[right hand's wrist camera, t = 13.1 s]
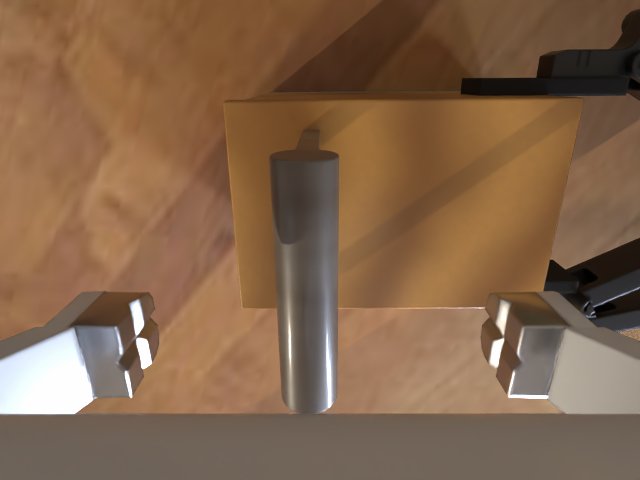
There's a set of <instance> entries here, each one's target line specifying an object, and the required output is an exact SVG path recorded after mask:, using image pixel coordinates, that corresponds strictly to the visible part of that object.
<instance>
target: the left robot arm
mask: <svg viewBox="0 0 640 480" xmlns="http://www.w3.org/2000/svg"><path fill="white" fill-rule="evenodd" d="M622 32H623V33H622V35H621V37H620V39H619V40H618V41H617V43H616V44H615V45H614V46H613V47H611V48H610V49H593V50H561V51H552V52H549V53H547V54H544V55H542V56H540V59H539V65H538V71H537V77H536V78H462V85H461V94H467V95H476V96H519V95H550V96H614V95H626V92H627V93H629V94H630V95H632V96H633V97H635V98H636V99H638V100H640V9H638V10H635V11H632V12H630V13H629V14H628V15H627V16H626V17H625V19H624V20H623V23H622ZM543 291H554V292H558V293H559V294H560V295H562V296H563V297H564V298H565V299H566V300H567V301H568V302H569V303H571V304H572V305H573V306H574V307H575V308H576V309H577V310H578V311H580V312H581V313H582V314H583V315H584V316H585V317H586V318H587V319H588V320H590V321H591V322H592V323H593V324H594V325H595V326H596V327H605V328H607V329H610V330H612V331H615V332H621V331H626V330H631V329H636V328H640V238H638V239H636V240H634V241H631V242H629V243H627V244H624V245H622V246H620V247H617V248H615V249H613V250H610V251H608V252H606V253H603V254H601V255H599V256H596V257H594V258H592V259H589V260H587V261H585V262H582V263H580V264H578V265H575V266H573V267H571V268H568V269H566V270H565V269H564V268H562V267H561V266H560V265H559V264H557V263H556V262H555V261H554V260H550V261H549V266H548V271H547V275H546V280H545V285H544V289H543Z"/></svg>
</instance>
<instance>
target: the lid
mask: <svg viewBox="0 0 640 480" xmlns="http://www.w3.org/2000/svg"><path fill="white" fill-rule="evenodd" d="M583 103H584V99H583V98H577V97H524V98H405V99H285V100H227V101H224V102H223V111H224V122H225V133H226V144H227V155H228V166H229V177H230V188H231V200H232V211H233V222H234V233H235V244H236V255H237V266H238V277H239V289H240V300H241V308H242V309H277V317H278V336H279V355H280V374H281V392H282V399H283V401H284V403H285V405H286V406H287V407H288V408H289V409H291V410H293V411H295V412H297V413H301V414H317V413H320V412H323V411H325V410H327V409H328V408H330V407H331V406H332V405H333V403H334V402H335V400H336V398H337V361H338V309H386V308H485V307H486V301H487V298H488V296H489V294H490V293H495V292H543V289H544V285H545V280H546V275H547V271H548V266H549V261H550V257H551V252H552V247H553V243H554V238H555V233H556V229H557V224H558V219H559V215H560V210H561V205H562V201H563V196H564V191H565V187H566V182H567V177H568V173H569V168H570V163H571V159H572V154H573V149H574V145H575V140H576V135H577V131H578V126H579V121H580V117H581V112H582V107H583Z"/></svg>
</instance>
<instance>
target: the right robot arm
mask: <svg viewBox="0 0 640 480" xmlns="http://www.w3.org/2000/svg"><path fill="white" fill-rule="evenodd" d="M154 310H155V307H154V302H153V297H152V296H151V295H150V294H149V292H106V291H94V292H82V293H81V294H80V295H79V296H77V297H76V298H75V299H74V300H73V301H72V302H71V303H70V304H68V305H67V306H66V307H65V308H64V309H63V310H62V311H61V312H59V313H58V314H57V315H56V316H55V317H54V318H53V319H52V320H50V321H49V322H48V323H47V324H46V325H45V326H44V327H35V328H33V329H30V330H28V331H25V332H23V333H20V334H18V335H15V336H13V337H10V338H8V339H5V340H3V341H0V480H640V341H637V340H635V339H632V338H630V337H627V336H625V335H622V334H620V333H617V332H615V331H612V330H610V329H607V328H605V327H596V326H595V325H594V324H593V323H592V322H591V321H590V320H588V319H587V318H586V317H585V316H584V315H583V314H582V313H581V312H580V311H578V310H577V309H576V308H575V307H574V306H573V305H572V304H571V303H569V302H568V301H567V300H566V299H565V298H564V297H563V296H562V295H560V294H559V293H558V292H554V291H543V292H495V293H490V294H489V296H488V298H487V301H486V307H485V310H486V311H487V313H488V314H489V316H490V318H489V319H488V320H487V321H486V322H485V323H484V324H483V325H482V331H481V345H482V351H483V354H484V357H485V358H486V360H487V362H488V364H490V365H492V366H493V367H495V368H496V369H497V374H496V377H497V379H498V381H499V382H500V384H501V386H502V387H503V389H504V391H505V392H506V394H507V396H508V397H520V398H547V400H548V401H549V402H551V403H552V404H553V405H555V406H556V407H557V408H559V409H560V410H561V411H563V412H564V413H566V414H75V413H76V412H77V411H79V410H80V409H81V408H83V407H84V406H85V405H87V404H88V403H89V402H91V401H92V400H93V399H92V398H119V397H132V396H133V394H134V392H135V391H136V389H137V387H138V386H139V384H140V382H141V381H142V379H143V377H144V374H143V369H144V368H145V367H147V366H148V365H150V364H152V362H153V360H154V358H155V356H156V354H157V350H158V346H159V330H158V325H157V324H156V323H155V322H154V321H153V320H152V319H151V318H150V316H151V314H152V313H153V311H154Z"/></svg>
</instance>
